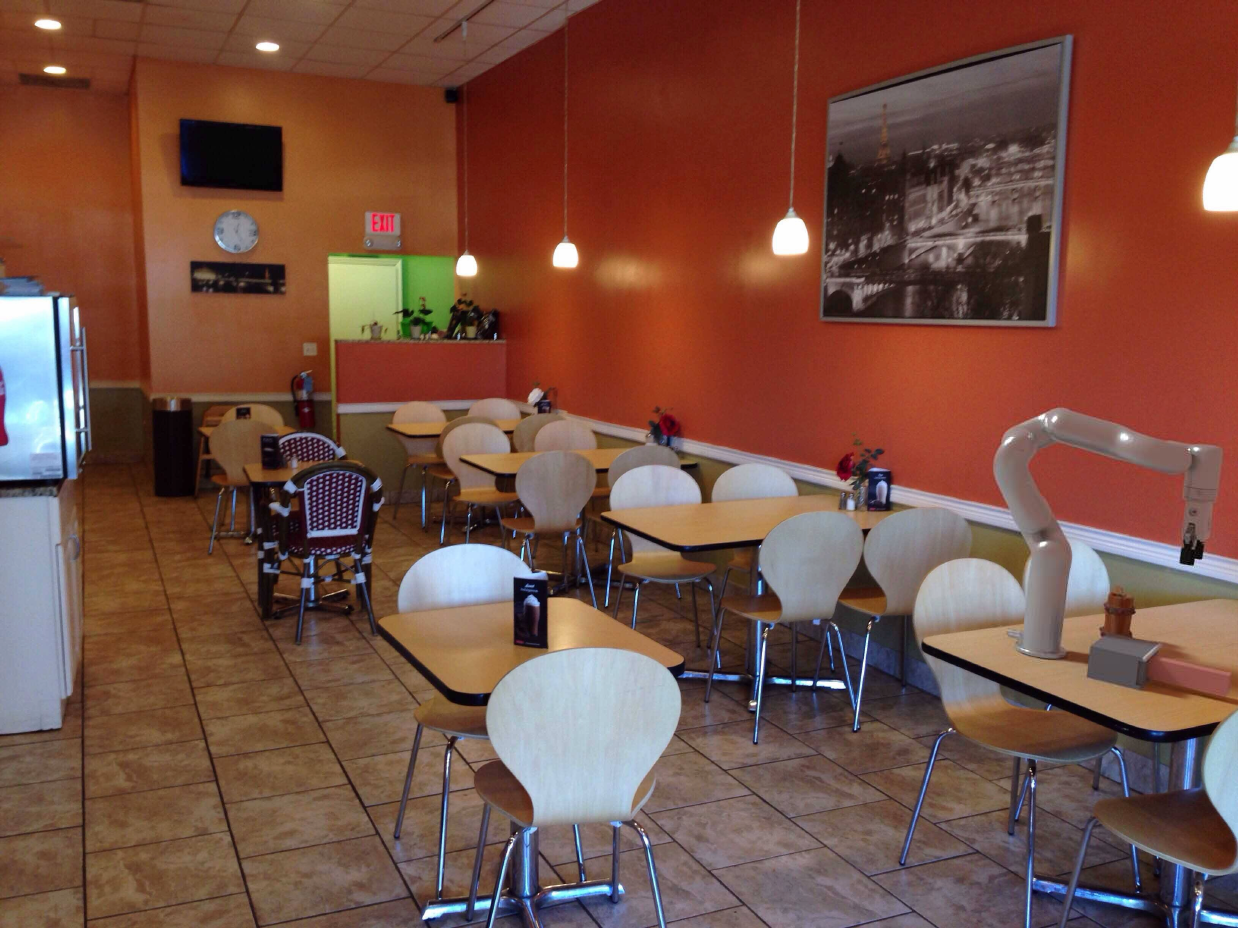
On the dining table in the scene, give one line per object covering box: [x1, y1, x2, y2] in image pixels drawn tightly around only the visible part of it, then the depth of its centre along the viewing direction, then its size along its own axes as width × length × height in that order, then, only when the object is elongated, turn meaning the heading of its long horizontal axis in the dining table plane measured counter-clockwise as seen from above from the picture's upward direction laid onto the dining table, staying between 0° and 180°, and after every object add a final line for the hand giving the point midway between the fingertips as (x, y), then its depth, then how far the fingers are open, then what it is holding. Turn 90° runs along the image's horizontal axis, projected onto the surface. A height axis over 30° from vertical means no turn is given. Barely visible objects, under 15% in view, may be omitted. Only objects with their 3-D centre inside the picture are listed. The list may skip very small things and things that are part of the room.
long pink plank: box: [1147, 655, 1232, 697], centre depth 248 cm, size 18×3×5 cm, turn 50°
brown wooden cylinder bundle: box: [1098, 585, 1137, 638], centre depth 283 cm, size 15×8×15 cm, turn 160°
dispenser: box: [1086, 632, 1164, 691], centre depth 257 cm, size 13×16×8 cm
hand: (1190, 561), depth 260 cm, fingers open, 9 cm apart
